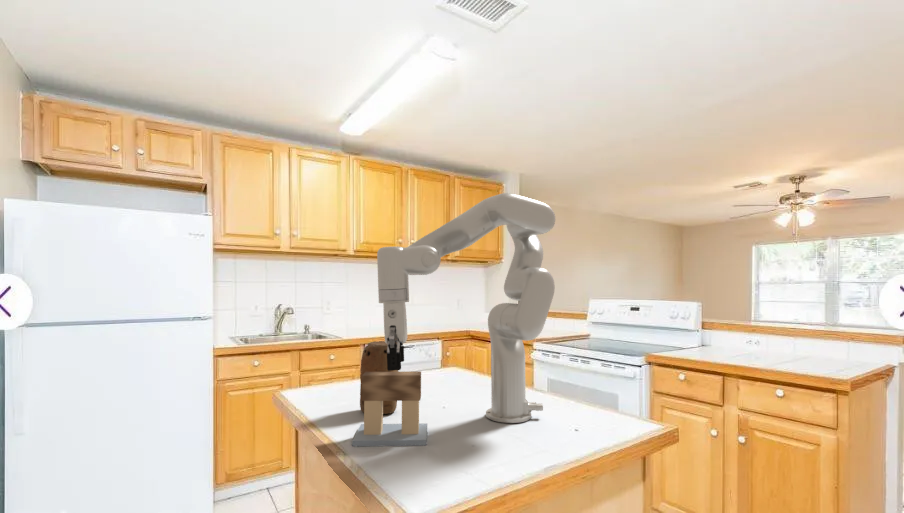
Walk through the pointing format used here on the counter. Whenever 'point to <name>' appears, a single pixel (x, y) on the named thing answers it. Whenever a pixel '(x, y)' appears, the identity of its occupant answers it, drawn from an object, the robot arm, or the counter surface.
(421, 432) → the base
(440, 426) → the counter surface
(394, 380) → the beam
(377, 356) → the brown rounded tall lump
